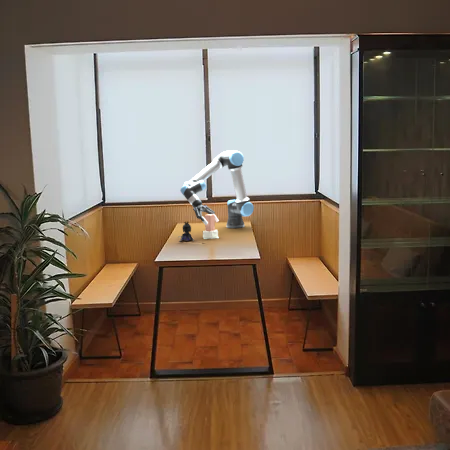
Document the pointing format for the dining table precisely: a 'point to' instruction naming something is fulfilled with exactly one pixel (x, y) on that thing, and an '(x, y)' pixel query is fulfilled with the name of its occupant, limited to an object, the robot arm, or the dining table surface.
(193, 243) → the dining table surface
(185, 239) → the figurine
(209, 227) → the tall brick
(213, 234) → the base brick
